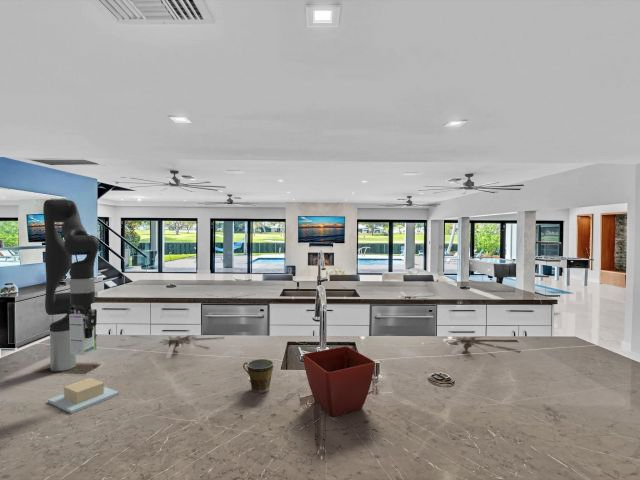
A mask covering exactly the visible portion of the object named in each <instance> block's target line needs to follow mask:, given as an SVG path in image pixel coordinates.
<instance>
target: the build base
mask: <svg viewBox="0 0 640 480" xmlns="http://www.w3.org/2000/svg"><path fill="white" fill-rule="evenodd" d="M104 385H105V383H104V382H103V381H100V380H97V379H94V378H93V377H92V378H91V377H88V378H86V379H83V380H80V381H77V382H74V383H70V384H68V385H65V386H63V394H60V395H57V396H54V397H51V398H48V399H47V402H48V403H49V404H50V405H53V406H55V407H56V408H59V409H61V410H63V411H65V412H68V413H69V414H74V413H77V412H79V411H80V412H81V410H85V409H87V408H89V407H92V406H94V405H96V404H99V403H102V402H104V401H106V400H109V399H112V398H115V397H116V396H119V395H120V394H119V391H117V390H115V389H113V388H112V389H111V388H109V387H107V386H104Z"/></svg>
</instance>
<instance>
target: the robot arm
mask: <svg viewBox="0 0 640 480" xmlns="http://www.w3.org/2000/svg"><path fill="white" fill-rule="evenodd" d="M42 213H43V221H44V235H45V243H44V244H45V245H44V246H45V247H44V248H45V252H44V256H45V257H44V259H45V261H44V262H45V263H44V264H45V265H44V267H45V278H46V279H45V281H46V282H45V299H44V300H45V303H44V308H45V309H44V310H45V313H46V314H47V315H48V316H56V315H65V316H64V317H62V318H61V319H58V320H55V321H53V322H52V323H50V325H49V350H50V351H49V353H50V354H49V357H50V363H49V364H50V371H51V372H63V371H68V370H71V369H73V368H75V367H76V366H77V354H71V352H70V322H69V315H70V314H73V313H78V314H84V315H85V316H88V319H83V322H84V326H85V338H91V337H92V327H93V326H97V321H98V320H97V319H98V318H97V313H98V311H97V309H96V308H95V309H94V308H93V309H92V304H94V303H95V301H96V285H95V274H94V273H95V271H94V270H95V269H94V268H95V262H96V257H97V255H98V252H99V248H100V241H99V238H97V236H95V235H92V234H91V235H90V234H89V235H88V232H87V230H86V229H85V227H84V225H83V224H82V220H81V217H80V213H79V209H78V206H77V204H76V203H75V202H74V201H73V200H71V199H47V200H45V201H44V202H43V212H42ZM55 223H62V224H61V225H62V226H61V232H62V235H63V237H64V239H63V238H62V236H61V235H60V233H58V231H57V229H56V225H55ZM81 255H82V256H85V257H84V258H83V259H82V260H78V261H74V262H73V256H81ZM69 271H70V273H69ZM68 273H69V274H70V282H69V292H58V293H57V292H56V291H57V288H58V286H59V285H60V283H61V282H62V280H63V279H64V278H65V277H66V275H67V274H68ZM92 320H93V321H92ZM87 321H88V323H87Z"/></svg>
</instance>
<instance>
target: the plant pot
mask: <svg viewBox="0 0 640 480" xmlns="http://www.w3.org/2000/svg"><path fill="white" fill-rule="evenodd" d="M302 358H303V360H302V361H303V364H304V371H305V374H306V379H307V382H308V386H309V388H310V391H311V396H312V398H313V399H314V402H315V403H316V404H317V406H319V407H320V408H321V409H322V410H323V411H324V412H325V413H327V415H329V416H330V417H337V416H339V415H340V416H341V415H343V414H348V413H351V412H354V411H357V410H361V409H363V407H364V404H365V402H366V399H367V397H368V394H369V391H370V388H371V385H372V381H373V376H374V372H375V366H376V361H374V360H373V359H371V358H369V357H368V356H365V355H363V354H362V353H360V352H359V351H357V350H356V349H353V348H351V347H349V346H339V347H334V348H328V349H323V350H317V351H312V352H307V353H303V354H302Z"/></svg>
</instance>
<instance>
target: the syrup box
mask: <svg viewBox="0 0 640 480" xmlns="http://www.w3.org/2000/svg"><path fill="white" fill-rule="evenodd" d="M83 319H88V316H85V315H84V314H78V313H73V314H70V315H69V322H70V352H71V354H76V356H79V355H81V356H84V355H86V354H89V353H91V352H93V351H97V327H96V326H97V325H96V326H93V327H92V337H91V338H85V326H84V322H83ZM92 321H93V320H92ZM87 323H88V321H87Z"/></svg>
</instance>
